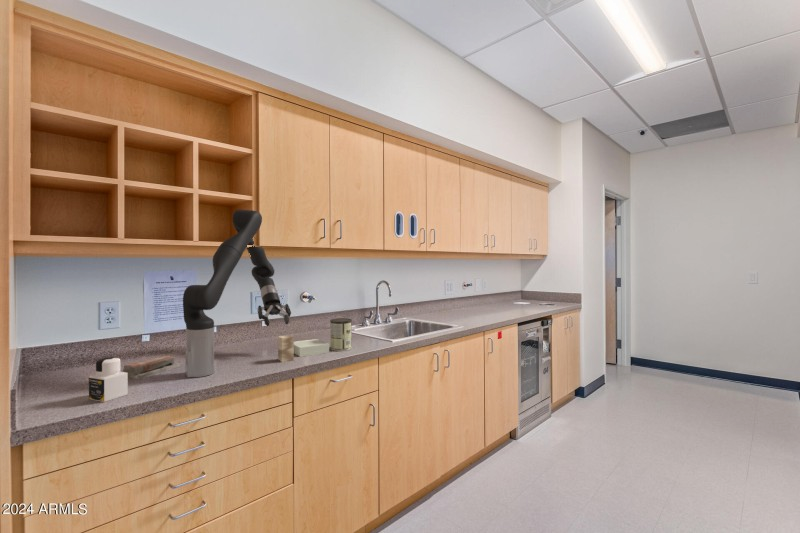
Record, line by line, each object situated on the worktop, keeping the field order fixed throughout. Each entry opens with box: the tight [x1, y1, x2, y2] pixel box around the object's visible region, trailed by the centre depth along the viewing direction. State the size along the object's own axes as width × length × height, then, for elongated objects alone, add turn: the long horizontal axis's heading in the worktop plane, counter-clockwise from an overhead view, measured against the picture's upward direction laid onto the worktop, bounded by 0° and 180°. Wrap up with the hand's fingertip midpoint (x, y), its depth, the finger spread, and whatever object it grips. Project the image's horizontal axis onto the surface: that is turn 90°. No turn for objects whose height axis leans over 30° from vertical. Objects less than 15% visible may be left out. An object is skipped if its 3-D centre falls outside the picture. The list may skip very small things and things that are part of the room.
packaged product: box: [121, 355, 182, 380], centre depth 147 cm, size 18×5×10 cm
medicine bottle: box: [88, 356, 129, 403], centre depth 119 cm, size 7×7×12 cm
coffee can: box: [329, 317, 353, 352], centre depth 186 cm, size 10×10×14 cm
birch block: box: [277, 334, 295, 363], centre depth 164 cm, size 5×5×10 cm
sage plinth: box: [294, 338, 330, 357], centre depth 179 cm, size 14×14×4 cm
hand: (277, 324), depth 173 cm, fingers open, 8 cm apart
